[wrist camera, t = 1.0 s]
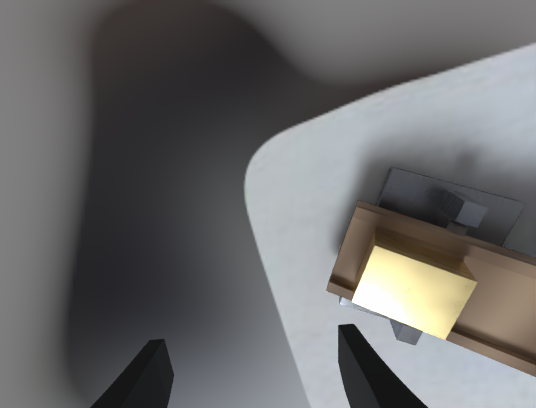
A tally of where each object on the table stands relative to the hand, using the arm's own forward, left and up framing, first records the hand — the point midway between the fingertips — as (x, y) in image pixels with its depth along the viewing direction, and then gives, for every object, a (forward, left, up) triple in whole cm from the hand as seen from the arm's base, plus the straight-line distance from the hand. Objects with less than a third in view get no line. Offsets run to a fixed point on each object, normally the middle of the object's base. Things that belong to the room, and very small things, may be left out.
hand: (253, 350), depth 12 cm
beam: (-14, -1, -12) cm, 18 cm away
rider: (-9, -1, -11) cm, 14 cm away
